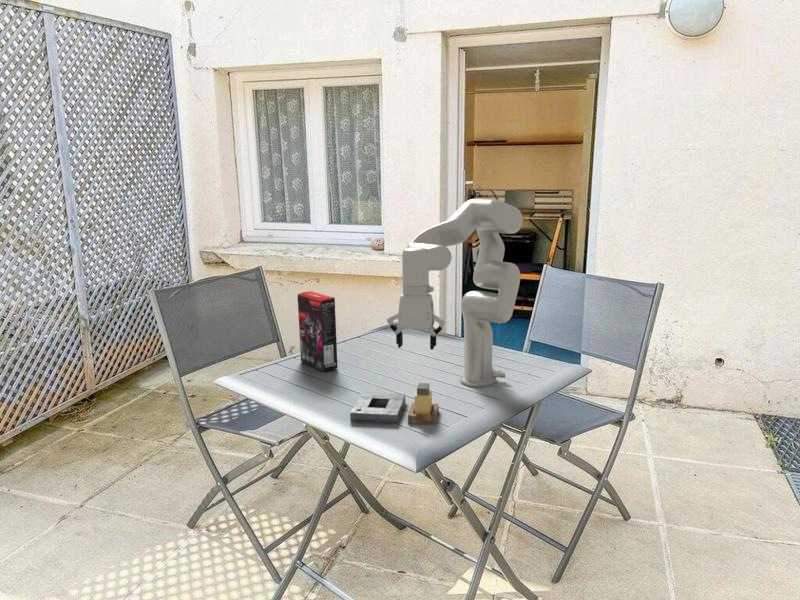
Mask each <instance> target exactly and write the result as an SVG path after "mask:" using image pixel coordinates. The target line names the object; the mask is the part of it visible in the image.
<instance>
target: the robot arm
mask: <svg viewBox="0 0 800 600" xmlns="http://www.w3.org/2000/svg"><path fill="white" fill-rule="evenodd" d="M522 226H523V215H522V212H521V211H520V209H519V208H518V207H516V206H513V205H511V204H509V203H506V202H504V201H502V200H499V199H497V198H471V199H469V200H467V201H465V202H464V203H462V205H460V207H459V208H458V209H457V210H456V211H455V212H454V213H452V215H450V217H449V218H448V219H447V220H446V221H444V222H441V223H439V224H436V225H433V226H432V227H428V228H427V229H425V230H423V231H421V232H420V233H419V234H417V235H416V236H415V237H414V238H413V239H412V240H411V241H410V242H409V244H408V245H407V246H406V248H404V249H403V250H402V253H401V256H402V259H401V260H402V261H401V262H402V264H401V265H402V269H401V271H402V293H400V297H399V305H398V313H396V314H394V315H392V316H390V317H388V318H386V321H387V323H388V326H389V327H390V329H391V330H392V331H393V333H394V334H395V335H396V336H395V337H396V339H395V340H396V342H395V343H396V345H397V348H398V349H400V348H401V347H402V346H403V344H404V343H403V342H404V341H403V339H404V337H403V334H404V333H403V331H402V330H403V329H405V330H419V331H420V330H423V331H428V332H429V334H430V336H429V337H430V338H429V342H430V343H429V347H430V348H429V349H430V350H434V348H435V347H437V336H438V334H439V333H440V332H441V331H442V329H443V328H444V327H445V325H446V320H445V319H443V318H441V317H439V316H438V315H436V314H435V309H434V300H433V295H432V294H431V292H432V293H434V291H435V287H434V286H431V285H430V284H429V282H430V280H429V279H430V278H429V277H430V275H429V274H430V272H431V271H433V272H434V271H443V270H445V269H447V268H448V267H449V266H450V264H451V262H452V259H453V258H452V257H453V255H452V253H451V251H450V249H449V248H448V247H450V246H451V247H452V246H456V245H460V244H463V243H464V242H466V241H467V240H468V239H469V238H470V237H471V236H472V234H473V233H474V232H475V231H476V233H477V236H478V238H479V239H478V240H479V248H478V249H479V250H478V253H477V257H476V262H475V266H474V271H473V276H472V280H473V283H474V285H475V286H477V287H479V288H482V289H488V290H495V291H498V293H495V292H491V291H483V290H482V291H481V290H470V291H468V292H466V293H465V294H464V295H463V296H462V298H461V301H460V302H461V303H460V304H461V305H460V307H461V314H462V317H463V329H464V330H463V332H464V333H463V335H464V337H463V338H464V339H463V343H464V345H463V349H464V350H463V351H464V355H463V357H464V358H463V361H464V363H463V366H464V367H463V371H464V372H463V373H462V374H460V376H459V381H460V383H462V384H464V385H466V386H470V387H478V388H479V387H480V388H483V387H489V386H492V385H494V384H495V383H497V378H503V379H505V378H506V372H505V371H503V370H501V369H499V370H497V369H494V366H493V328H492V326H491V323H497V324H505V323H507V322H508V321H510V319H511V318H512V317H513V312H514V309H515V305H516V301H517V300H516V299H517V298H518V297H517V295H518V291H519V288H520V282H521V271H520V269H519V267H518V265H517V264H515V263H512V262H507V261H503V260H504V257H505V251H506V248H505V244H504V241H503V239H502V237H501V236H500V234H509V235H511V234H516V233H517V232H519V231H520V230H521V228H522ZM396 320H397V324H398V326H397V325H396V323H395V322H394V321H396ZM435 322H437V323H438V324H439V325H438V327H435V326H434V325H435Z"/></svg>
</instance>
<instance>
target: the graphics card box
mask: <svg viewBox="0 0 800 600" xmlns="http://www.w3.org/2000/svg"><path fill="white" fill-rule="evenodd" d="M296 297H297V310H298V326H299V327H298V329H299V331H298V333H299V347H300V351H299V352H300V362H301V363H304V364H306V365H308V366H311V367H313V368H315V369H317V370H320V371H322V372H327V371H332V370H334V369H338V349H337V348H338V347H337V341H338V340H337V322H336V321H337V320H336V299H335V297H334V296H328V295H325V294H322V293H319V292H316V291H313V290H308V291H304V292H300V293H298V294H297V296H296Z"/></svg>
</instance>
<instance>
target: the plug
mask: <svg viewBox="0 0 800 600" xmlns="http://www.w3.org/2000/svg"><path fill="white" fill-rule="evenodd" d="M430 386H431V385H430V383H427V382H418V384H417V387H416V390H415V393H414V403H415V414H426V415H432V403H433V388H430Z"/></svg>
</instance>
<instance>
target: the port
mask: <svg viewBox="0 0 800 600" xmlns="http://www.w3.org/2000/svg"><path fill="white" fill-rule="evenodd" d="M406 399H407V398H406V393H392V392H391V393H389V392H388V393H387V392H386V393H385V392H365V391H364V392H363V391H362V392H361V394H360V396H359V397H358V399H357V401H356V402H355V404H354V405H353V407H352V409H351V411H350V412H349V417H350V418H349V419H350V420H349V421H350V423H355V424H356V423H358V424H360V423H361V424H362V423H363V424H379V425H398V423H399V421H400V418H401V416H402V413H403V410H404V409H405V405H406V403H407V402H406Z"/></svg>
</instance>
